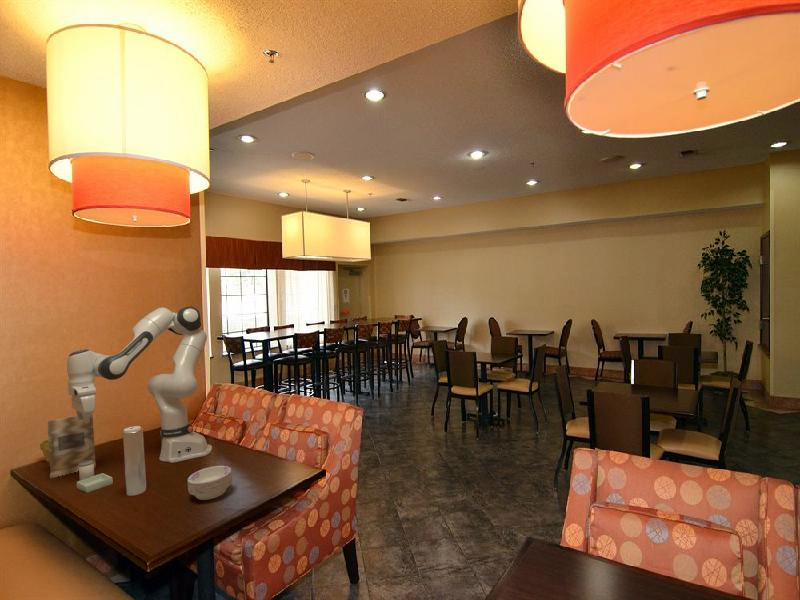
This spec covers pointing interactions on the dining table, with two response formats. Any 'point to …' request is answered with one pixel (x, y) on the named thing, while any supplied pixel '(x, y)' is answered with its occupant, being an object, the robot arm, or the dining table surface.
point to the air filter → (134, 460)
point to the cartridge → (86, 469)
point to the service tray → (94, 483)
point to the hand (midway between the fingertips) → (83, 421)
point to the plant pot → (45, 449)
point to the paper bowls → (210, 482)
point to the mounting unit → (70, 444)
